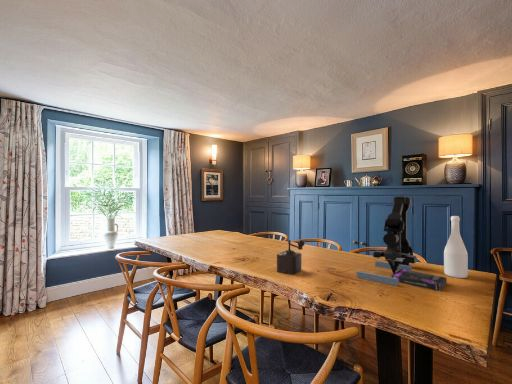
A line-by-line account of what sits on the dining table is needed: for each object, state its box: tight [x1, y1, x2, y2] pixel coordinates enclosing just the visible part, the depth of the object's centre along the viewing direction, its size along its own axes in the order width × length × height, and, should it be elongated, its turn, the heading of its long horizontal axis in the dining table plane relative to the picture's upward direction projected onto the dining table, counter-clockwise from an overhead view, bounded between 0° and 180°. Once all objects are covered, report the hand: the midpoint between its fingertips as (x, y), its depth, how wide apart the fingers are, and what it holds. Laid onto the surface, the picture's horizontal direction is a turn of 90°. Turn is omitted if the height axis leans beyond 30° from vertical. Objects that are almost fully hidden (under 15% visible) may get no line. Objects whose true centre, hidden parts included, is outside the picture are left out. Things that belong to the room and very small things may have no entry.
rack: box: [356, 260, 413, 287], centre depth 134 cm, size 28×18×3 cm, turn 138°
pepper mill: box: [276, 239, 305, 275], centre depth 139 cm, size 16×11×18 cm
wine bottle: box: [443, 215, 469, 279], centre depth 132 cm, size 10×10×30 cm
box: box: [390, 269, 448, 292], centre depth 123 cm, size 14×4×20 cm
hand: (394, 273), depth 131 cm, fingers closed
